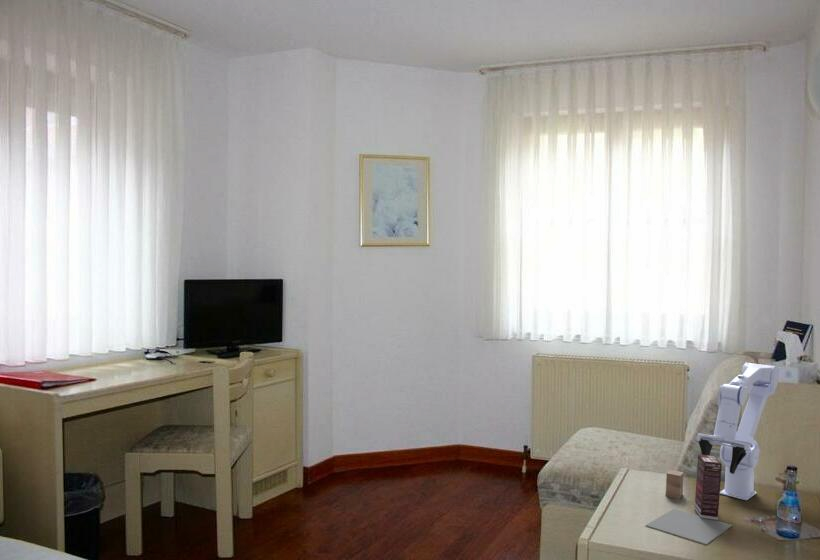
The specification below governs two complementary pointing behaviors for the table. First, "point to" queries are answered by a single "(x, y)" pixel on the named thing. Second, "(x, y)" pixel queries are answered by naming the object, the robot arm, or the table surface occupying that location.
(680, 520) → the mat
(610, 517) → the table surface
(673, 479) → the walnut block
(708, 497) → the supplement box
